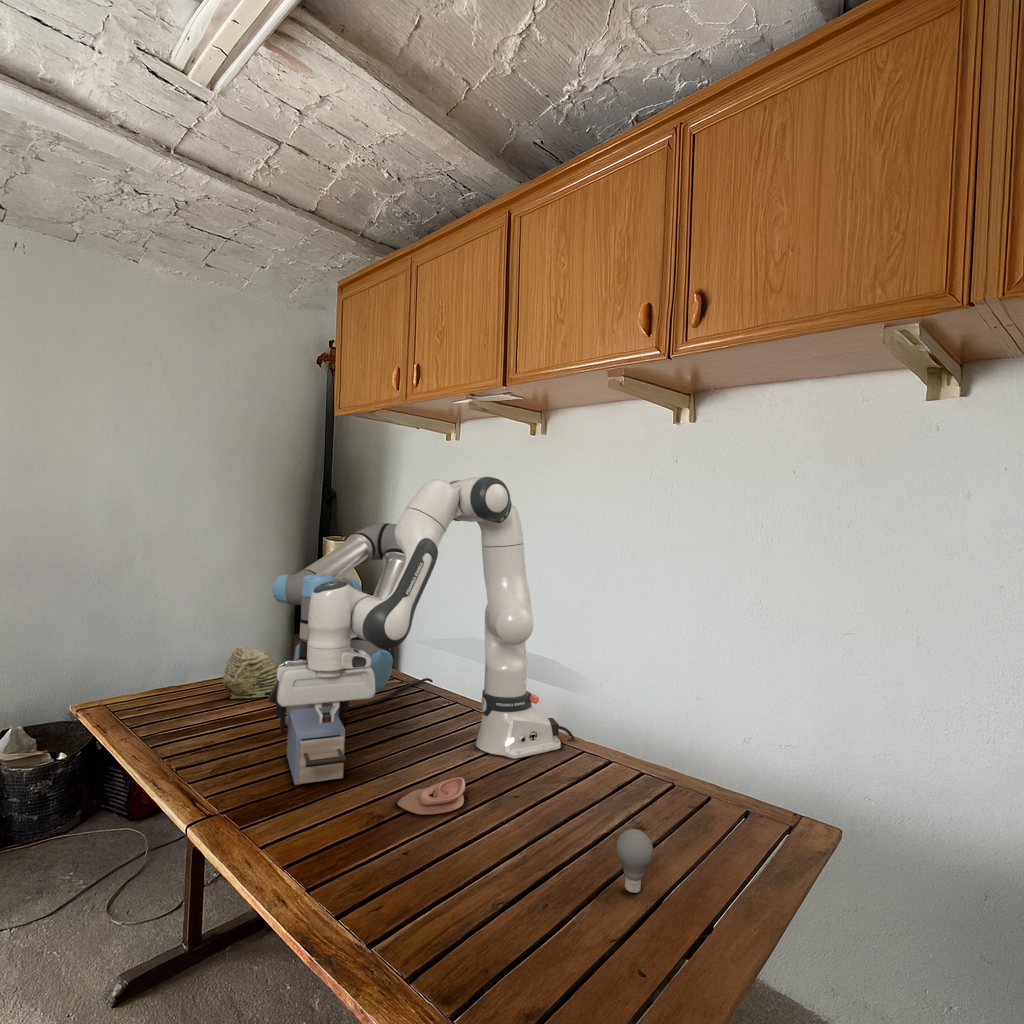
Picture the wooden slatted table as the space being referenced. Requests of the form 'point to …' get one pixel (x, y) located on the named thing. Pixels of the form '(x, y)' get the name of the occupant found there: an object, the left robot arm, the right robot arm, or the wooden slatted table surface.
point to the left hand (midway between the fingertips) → (312, 727)
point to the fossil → (249, 673)
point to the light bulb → (634, 857)
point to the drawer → (321, 759)
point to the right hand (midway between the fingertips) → (326, 722)
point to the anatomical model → (435, 798)
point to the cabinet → (308, 733)
